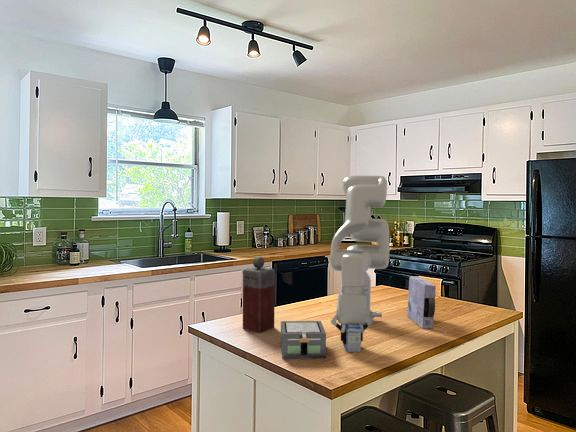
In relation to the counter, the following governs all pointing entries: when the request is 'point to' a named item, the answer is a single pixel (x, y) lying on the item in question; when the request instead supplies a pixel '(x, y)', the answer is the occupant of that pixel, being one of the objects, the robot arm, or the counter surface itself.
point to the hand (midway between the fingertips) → (351, 342)
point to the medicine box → (353, 337)
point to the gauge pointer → (304, 340)
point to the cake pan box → (421, 302)
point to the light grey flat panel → (302, 328)
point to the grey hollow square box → (303, 343)
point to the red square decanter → (258, 297)
